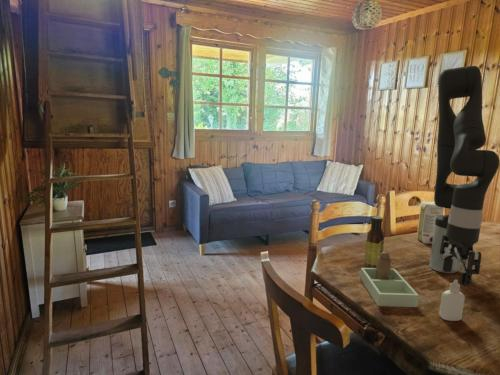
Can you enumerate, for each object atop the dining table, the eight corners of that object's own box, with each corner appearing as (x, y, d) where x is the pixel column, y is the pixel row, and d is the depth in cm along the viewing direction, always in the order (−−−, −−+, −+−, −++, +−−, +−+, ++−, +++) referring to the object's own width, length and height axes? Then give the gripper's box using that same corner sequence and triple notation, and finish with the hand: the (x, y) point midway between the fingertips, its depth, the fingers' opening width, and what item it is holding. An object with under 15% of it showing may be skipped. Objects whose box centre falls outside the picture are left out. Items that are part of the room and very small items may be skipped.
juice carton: (441, 244, 151) (446, 205, 147) (422, 244, 151) (427, 204, 147) (432, 238, 158) (437, 201, 154) (414, 238, 158) (419, 200, 154)
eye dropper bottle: (438, 311, 97) (444, 274, 95) (460, 316, 94) (467, 279, 92) (438, 318, 93) (444, 280, 91) (461, 324, 91) (468, 285, 88)
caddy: (393, 278, 117) (397, 247, 114) (417, 307, 99) (422, 270, 96) (359, 278, 117) (362, 246, 114) (377, 305, 99) (381, 269, 97)
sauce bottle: (382, 271, 123) (388, 220, 119) (365, 269, 124) (370, 219, 120) (379, 263, 129) (384, 215, 125) (363, 262, 130) (367, 214, 126)
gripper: (496, 232, 81) (485, 291, 84) (462, 216, 95) (453, 267, 98) (466, 231, 81) (456, 290, 84) (436, 215, 95) (428, 266, 98)
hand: (455, 277), depth 91 cm, fingers open, 8 cm apart
